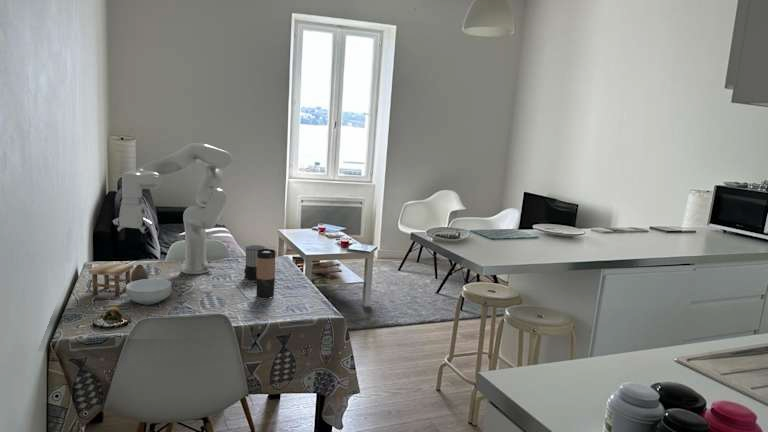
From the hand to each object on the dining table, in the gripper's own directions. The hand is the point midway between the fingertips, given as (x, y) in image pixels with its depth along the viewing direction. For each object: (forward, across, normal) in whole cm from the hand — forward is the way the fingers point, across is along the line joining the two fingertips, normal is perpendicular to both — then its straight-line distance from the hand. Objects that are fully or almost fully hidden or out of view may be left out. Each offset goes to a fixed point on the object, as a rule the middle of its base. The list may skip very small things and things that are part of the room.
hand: (132, 240), depth 231 cm
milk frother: (+20, -43, -30) cm, 56 cm away
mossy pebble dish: (+20, -18, +43) cm, 51 cm away
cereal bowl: (+20, -17, +18) cm, 32 cm away
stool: (+20, +2, +12) cm, 23 cm away
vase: (+20, -2, -1) cm, 20 cm away
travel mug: (+20, -59, -1) cm, 62 cm away
